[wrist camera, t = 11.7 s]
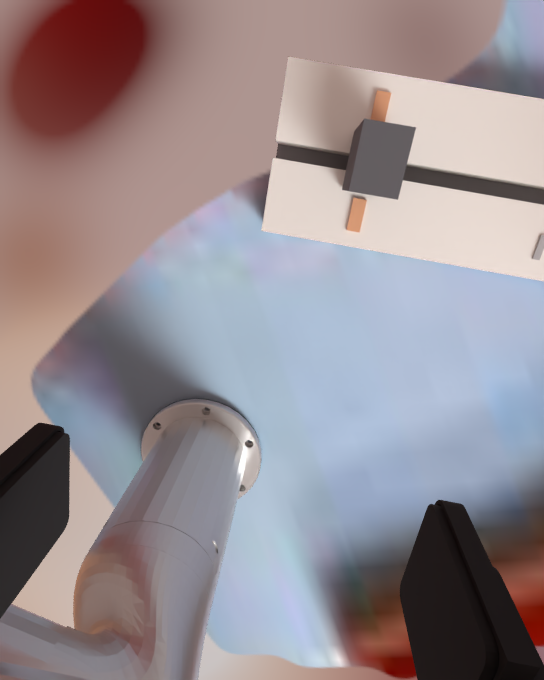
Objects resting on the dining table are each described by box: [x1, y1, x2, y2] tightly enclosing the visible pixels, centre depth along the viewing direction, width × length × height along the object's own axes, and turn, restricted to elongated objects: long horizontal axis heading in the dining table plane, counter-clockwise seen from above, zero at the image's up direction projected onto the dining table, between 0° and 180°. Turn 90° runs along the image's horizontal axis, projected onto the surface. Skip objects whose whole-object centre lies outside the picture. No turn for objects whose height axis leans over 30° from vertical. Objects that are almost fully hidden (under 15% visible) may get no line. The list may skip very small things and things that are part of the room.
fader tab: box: [342, 118, 416, 200], centre depth 30 cm, size 4×3×10 cm
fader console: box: [262, 56, 544, 281], centre depth 34 cm, size 12×26×4 cm, turn 81°
